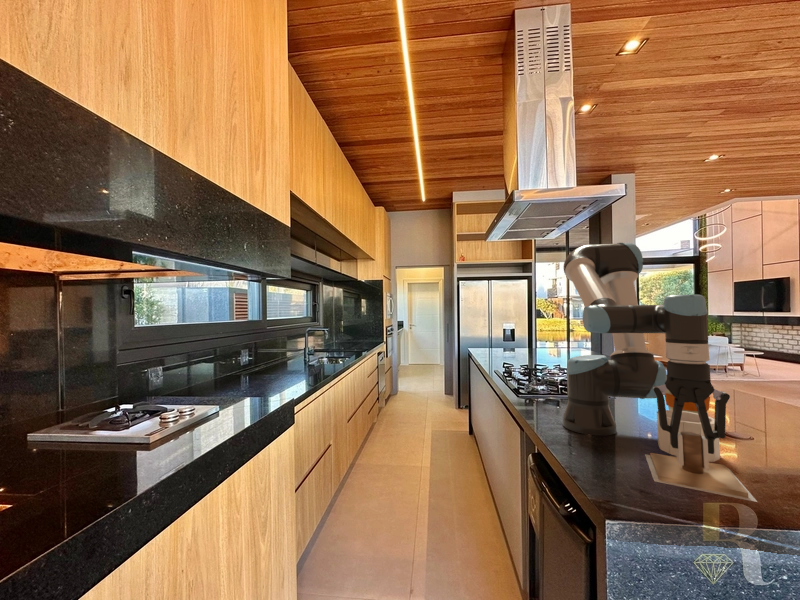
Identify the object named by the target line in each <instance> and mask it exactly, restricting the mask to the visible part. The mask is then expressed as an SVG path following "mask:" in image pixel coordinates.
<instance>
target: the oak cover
mask: <svg viewBox="0 0 800 600" xmlns="http://www.w3.org/2000/svg"><path fill="white" fill-rule="evenodd" d="M681 435H682V439H683V460H684V465H679V463H678V461H677V456H674V455H667V454H661V453H655V452H650V453H649V455H650V457H651V460H652V463H653V465H654V468H655V471H656V473H657V476H658V478H659V480H661V481H666V482H671V483H676V484H681V485H686V486H691V487H696V488H701V489H706V490H711V491H716V492H721V493H726V494H731V495H736V496H741V497H746V498H748V492H747V491H746V490H745V489H744V487H745V486H744V487H743V486H742V485H741V484H740V483H739V481H740V480H739V479H738V480H739V481H738V480H737V479H736V478H735V477H734V476H733V474H734V473H733V472H732V473H733V474H732V473H731V472H730V471H729V470H728V469H729V468H728V467H727V466H726V465H725V464H719V463H714V462H709V470H706V469H704V468H703V452H702V436H701V435H699V434H696V433H692V432H681ZM727 468H728V469H727Z"/></svg>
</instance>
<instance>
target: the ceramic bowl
mask: <svg viewBox="0 0 800 600" xmlns="http://www.w3.org/2000/svg"><path fill="white" fill-rule="evenodd" d="M672 412H673V410H669V409H666V416H667V424H668V425H669V426H670V422H671V417H672ZM708 417H709V421H710V424H711V428H712V431H714V423H715V417H714V418H713V417H711V416H709V415H708ZM656 424H657V425H656V426H657V428H656V429H657V443H658V444H657V445H658V447H659V449H660V450H661V451H663V452H665V453H667V454H669V455H670V456H674V457H677V450H676V448H673V447H672V445H671V444H670V432H668V431H665V430H663V429H662V428H661V426H660V423H659V414H658V411H656ZM681 432H692V433H696V434H699V435H701V436H705V435H704V432H703V429H702V425H701V422H700V418H699V415H698V414H697V413H692V412H686V411H682V415H681V420H680V426H679V431H678V433H680V434H681ZM720 445H721V444H720V438H716V439H715V440H714V454H709V453H708V458H709V463H714V462H718V461H719V460H720V459H721V449H720Z"/></svg>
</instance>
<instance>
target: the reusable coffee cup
mask: <svg viewBox="0 0 800 600" xmlns="http://www.w3.org/2000/svg"><path fill="white" fill-rule="evenodd" d="M674 399H675V397H674V396H673V395H672V393H671V392H670V391H669V390H668V389H667V390H666V394H665V395H664V400H665V406H667V408H668V410H673V407H674ZM704 402H705V405H706V410H707V412H708V411H709V410H710V405H711V403H710V402H711V395H710V396H709V397H708V398H707V399H706V400H705V401H704ZM682 411H686V412H692V413H697V414H698V411H697V407H696V405H695V403H692V402H686V403H685V402H684V406H683V410H682Z"/></svg>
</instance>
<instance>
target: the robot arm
mask: <svg viewBox="0 0 800 600" xmlns="http://www.w3.org/2000/svg"><path fill="white" fill-rule="evenodd" d="M643 263H644V257H643V255H642V251H641V249H640V248H639V247H638V246H637V244H634V243H632V242H617V243H603V244H601V243H600V244H585V245H582V246H579V247H577V248H575V249H573V250H572V251H571V252H570V253H569V254H568V255H567V256H566V258H565V260H564V263H563V273H564V275H565V277H566V278H567V279H568V280H569V281H571V282H572V283H573V286H574V288H575V290H576V292H577V293H578V295H579V297H580V299H581V301H582V303H583V305H584V309H583V311H582V322H583V327H584V329H585V331H587V332H588V333H597V334H598V333H599V334H611V335H612V342H613V348H614V351H613V352H612V353H611V354H610V355H609V356H610V359H609V358H608V357H607V356H606V355H603V354H588V355H587V354H585V355H579V356H578V355H577V356H574V357H570V358H569V359H568V360H567V362H566V379H567V380H566V382H567V383H566V385H567V404H566V407H565V409H564V413H563V416H562V426H563V427H565V429H567V430H569V431H572V432H575V433H578V434H582V435H591V436H612V435H615V434H617V423H616V422H615V418H614V416H613V413H612V411H611V408H610V404H609V403H610V401H609V399H610V398H630V399H640V400H645V399H656V404H657V412H658V414H659V423H660V426H661V428H662V429H663V430H665V431H668V432H670V444H671V445H672V447H673V448H676V450H677V456H676V457H677V461H678V463H679V465H684V460H683V439H682V435H681V434H680V433H678V431H679V426H680V420H681V415H682V410H683V406H684V402H685V403H686V402H692V403H695V405H696V407H697V411H698V415H699V418H700V422H701V425H702V429H703V432H704V435H705V436H702V452H703V468H704V469H706V470H709V463H710V462H709V458H708V453H709V454H714V440H715V439H716V438H719V439H725V438H726V421H727V420H726V418H727V417H726V413H727V411H726V410H727V403H728V402H729V399H730V397H731V396H730V395H729V393H727V392H725V391H724V390H723V391H722V390H721V391H720V390H718V389H716V388H715V386H713V384H712V381H711V380H712V379H711V367H710V366H711V365H710V364H709V363H707V362H708V361H710V351H709V349H710V348H709V323H708V322H709V319H708V313H709V312H708V311H709V310H708V309H707V299H706V297H705V296H704V295H702V294H671V295H666V296H665V297H664V298H663V304H639V301H638V297H637V293H636V292H637V291H636V287H635V281H637V279H638V277H639V275H640V274H641V272H642V271H643V267H644V264H643ZM645 334H664V335H665V355H666V356H665V357H666V359H668V361H667V362H666V368H665V366H664V364H663V362H662V361H658V360H655V356H654V353H653V352H651V351H649V350H648V349H647V345H646V339H645ZM667 389H668V390H669V391H670V392H671V393H672V395H673V396H674V397H675V399H674V407H673V412H672V417H671V422H670V426H669V425H668V424H667V416H666V410H667V408H666V400H665V394H666V390H667ZM712 394H713V396H712V397H713V399H715V401H714V419H715V423H714V431H712V428H711V424H710V421H709V417H710V416H709V415H708V411H707V410H706V405H705V402H704V401H705V400H706V399H707V398H708V397H709V396H710V397H711V395H712ZM708 416H709V417H708Z"/></svg>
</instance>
